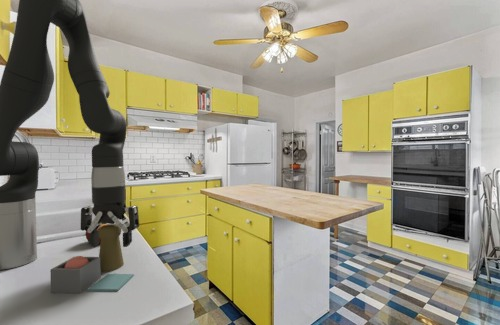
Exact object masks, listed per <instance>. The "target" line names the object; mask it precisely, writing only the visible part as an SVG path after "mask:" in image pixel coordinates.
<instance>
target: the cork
mask: <svg viewBox="0 0 500 325" xmlns="http://www.w3.org/2000/svg"><path fill="white" fill-rule="evenodd" d="M107 224H108V225H104V226H102V227H101V228H100V229H99V232H98V233H99V237H100V238H101V243H99V252H98V253H99V254H98V257H100V273H107V272H111V271H116V270H118V269H120V268H122V267H123V266H124V263H125V262H124V258H123V251H122V246H121V240H120V236H121V234H122V229H121V228H120V227H118V226H117V225H116V224H115V223H114V224H109V223H107Z"/></svg>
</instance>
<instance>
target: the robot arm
mask: <svg viewBox="0 0 500 325" xmlns="http://www.w3.org/2000/svg"><path fill="white" fill-rule="evenodd" d="M50 24H52V25H54V26H57V27H58V28H59V29H60V31H61V32H62V33H63V36H64V37H65V40H66V42H67V45H68V49H69V50H68V57H67V69H68V73H69V77H70V78H71V81H72V83H73V86H74V88H75V90H76V92H77V95H78V99H79V109H80V113H81V117H82V118H81V119H82V120H83V122H84V124H85V125H86V127H87V128H88V129H89V130H90V131H92V132H94V134H95V133H96V134H99V140H98V144H94V146H92V148H91V175H90V176H91V178H90V179H91V204H93V206H91V205H87V206H84V207H82V208H81V209H80V230H81V231H85V232H86V231H88V233H89V242H88V243H89V245H90V247H91V248H95V247H97V246H100V243H99V233H98V232H99V231H97V230H98V229H99V227H100V226H101V224H116V225H117V226H118V227H120V228H121V231H122V247H124V248H127V247H128V246H130V245H131V243H132V242H133V232H132V231H135V230H136V229H138V228H139V227H140V218H139V217H140V216H139V207H138V205H135V204H134V205H132V206H127V205H126V198H127V197H126V174H125V169H124V147H125V141H126V136H127V132H128V131H127V129H128V128H127V120H126V118H125V116H124V114H123V113H121V112H120V111H119V110H116V109H113V108H112V107H111V105H110V104H109V101H108V98H109V97H110V90H109V86H108V83H107V81H106V78H105V76H104V74H103V72H102V70H101V67H100V65H99V63H98V60H97V57H96V54H95V50H94V47H93V46H94V45H93V41H92V38H91V34H90V30H89V26H88V21H87V16H86V13H85V11H84V7H83V5H82V3H81V1H80V0H19V1H18V7H17V16H16V22H15V28H14V34H13V38H12V42H11V46H10V50H9V54H8V57H7V61H6V62H5V66H4V69H3V73H2V77H1V80H0V176H1V177H2V176H3V177H4V176H9V179H8V181H7V182H5V184H2V185H1V186H0V271H1V270H9V269H14V268H18V267H21V266H24V265H27V264H29V263H32V262H33V261H35V260H37V258H38V247H37V245H38V242H37V240H38V239H37V208H36V192H37V190H38V187H39V170H40V169H39V167H40V166H39V164H40V163H39V162H40V160H39V158H40V157H39V153H38V150H37V148H36V147H35V146H34V144H32V143H30V142H28V141H27V142H26V141H13V139H14V137H15V135H16V133H17V131H18V129H19V128H20V127H21V126H22V125H23V124H24V123H25V122H26V121H28V120H29V119H30V118H31V117H32V116H34V115H35V114H37V113H38V112H39V111H40V110H41V109H42V108H43V107H45V105H46V104H47V102H48V100H49V98H50V95H51V92H52V89H53V86H54V81H55V74H54V69H53V65H52V61H51V58H50V53H49V49H48V45H47V43H48V42H47V40H48V39H47V38H48V33H49V29H50ZM125 214H127V215H128V217H127V216H126V215H125ZM93 215H94V216H95V217H94V218H93Z"/></svg>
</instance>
